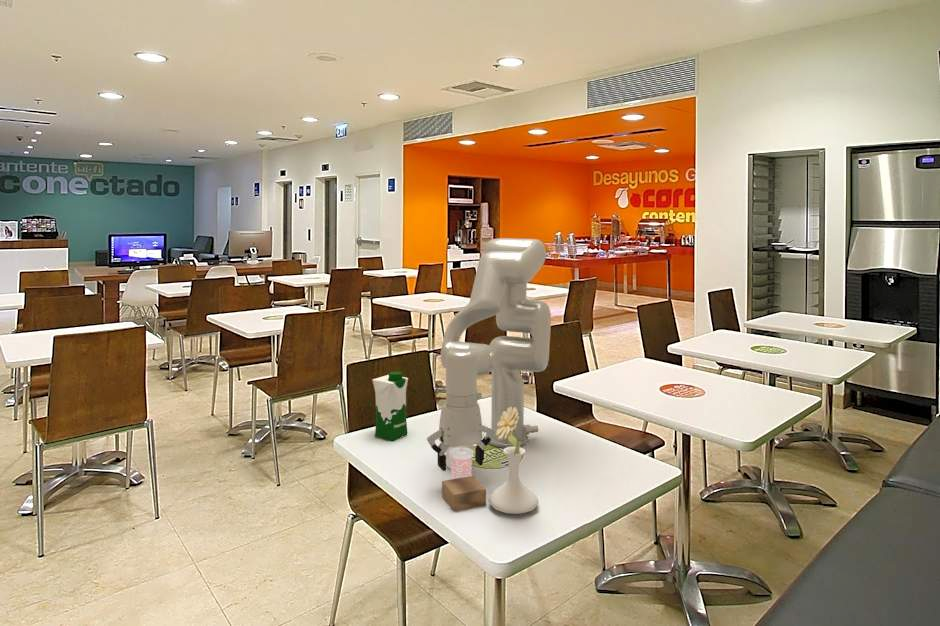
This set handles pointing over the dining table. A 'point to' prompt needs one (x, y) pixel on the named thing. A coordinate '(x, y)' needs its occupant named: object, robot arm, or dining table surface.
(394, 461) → the dining table surface
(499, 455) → the dining table surface
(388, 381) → the milk carton
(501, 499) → the flower in vase
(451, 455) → the beverage cup
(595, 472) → the dining table surface
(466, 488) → the riser
